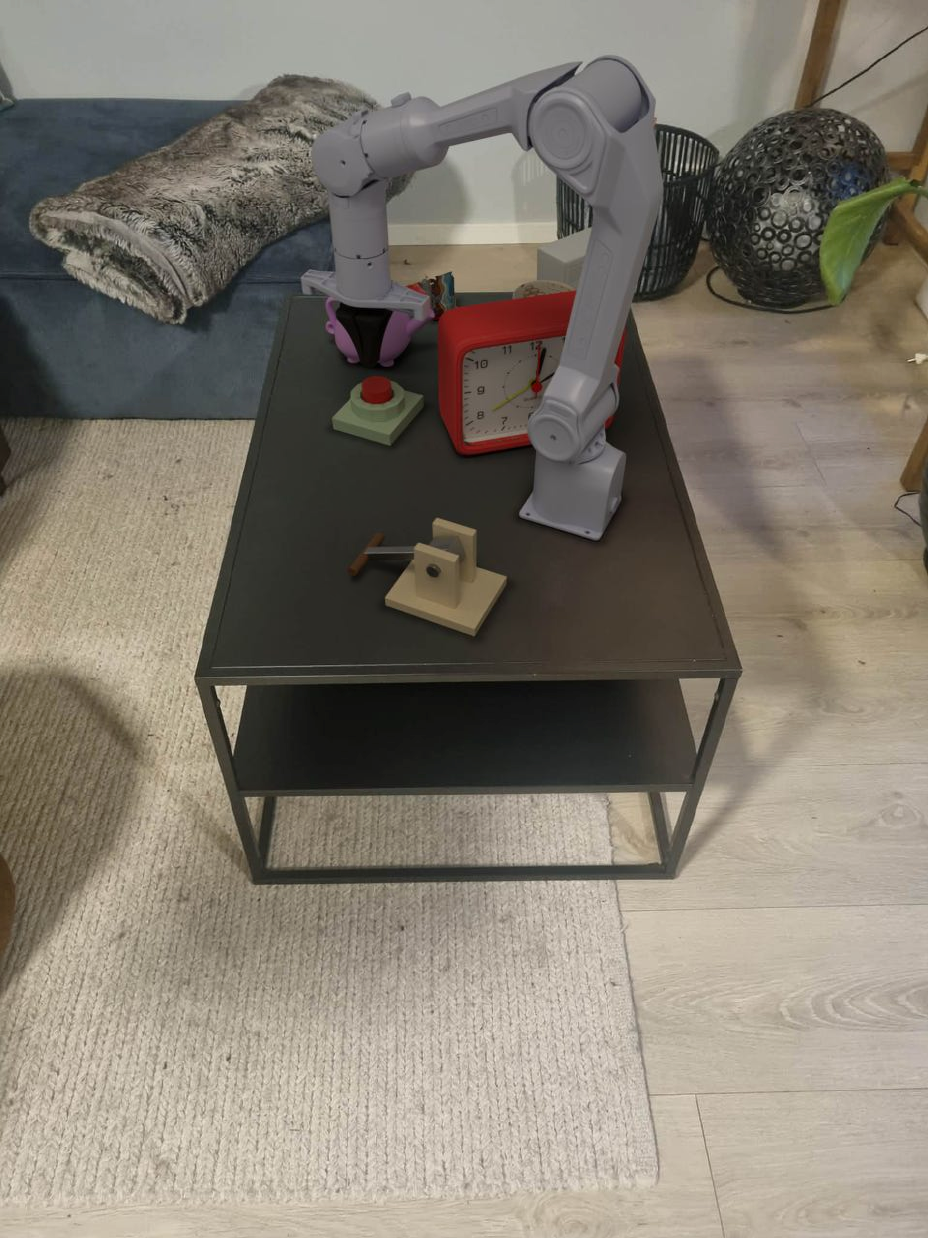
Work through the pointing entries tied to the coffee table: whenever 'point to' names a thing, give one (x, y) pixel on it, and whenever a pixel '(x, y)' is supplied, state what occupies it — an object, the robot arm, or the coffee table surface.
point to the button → (376, 390)
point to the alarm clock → (500, 367)
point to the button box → (378, 415)
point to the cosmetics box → (563, 259)
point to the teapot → (393, 338)
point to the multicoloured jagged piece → (437, 292)
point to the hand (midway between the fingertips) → (370, 362)
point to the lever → (402, 551)
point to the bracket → (447, 583)
